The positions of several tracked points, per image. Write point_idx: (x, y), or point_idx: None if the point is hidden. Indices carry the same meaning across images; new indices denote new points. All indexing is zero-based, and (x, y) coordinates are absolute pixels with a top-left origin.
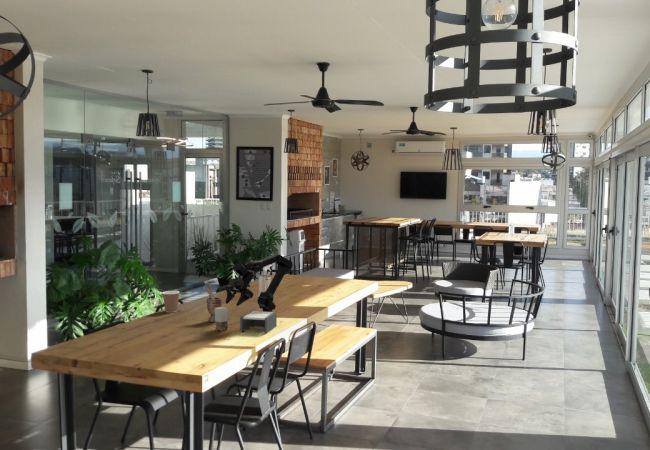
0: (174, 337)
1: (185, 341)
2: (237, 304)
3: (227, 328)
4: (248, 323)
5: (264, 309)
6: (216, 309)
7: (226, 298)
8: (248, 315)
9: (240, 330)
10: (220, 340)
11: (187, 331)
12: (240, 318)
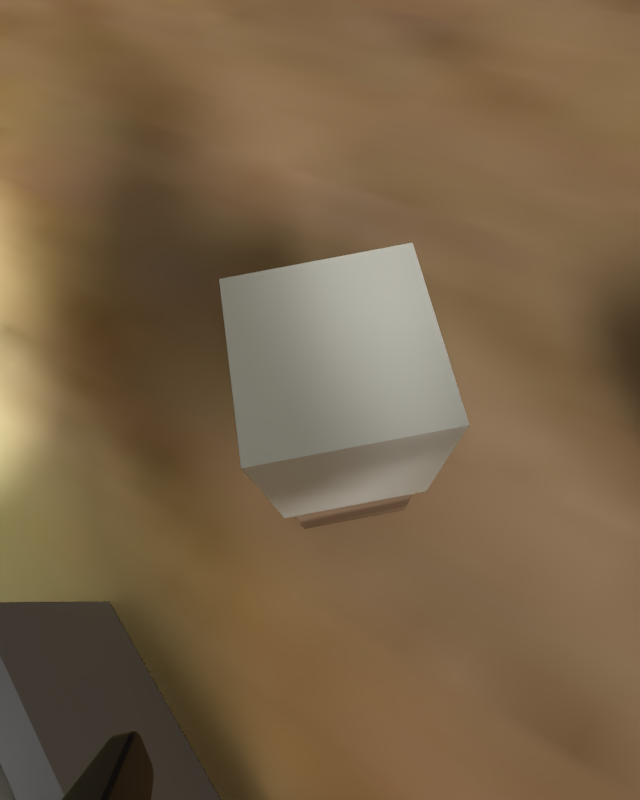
0: (359, 76)
1: (195, 97)
2: (92, 776)
3: (302, 524)
4: None
5: None
6: (354, 265)
7: None
8: None
9: (97, 603)
10: (6, 286)
11: (495, 196)
12: None
